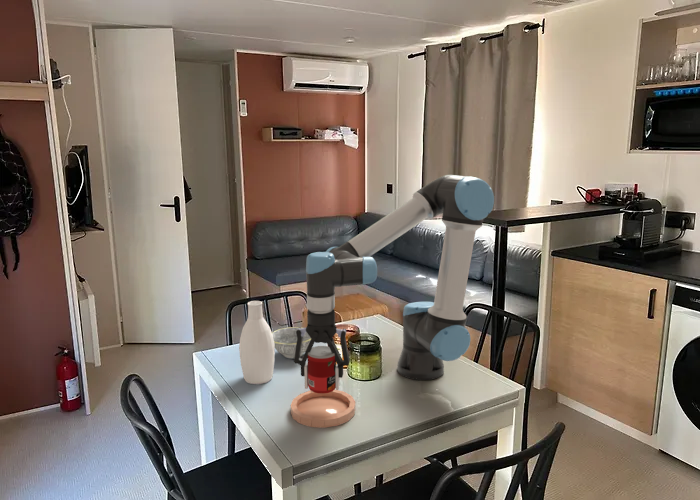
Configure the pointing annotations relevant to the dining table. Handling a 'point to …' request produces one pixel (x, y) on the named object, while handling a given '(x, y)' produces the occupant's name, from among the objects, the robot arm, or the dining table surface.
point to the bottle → (256, 347)
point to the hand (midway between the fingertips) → (322, 387)
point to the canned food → (321, 370)
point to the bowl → (289, 341)
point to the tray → (323, 408)
